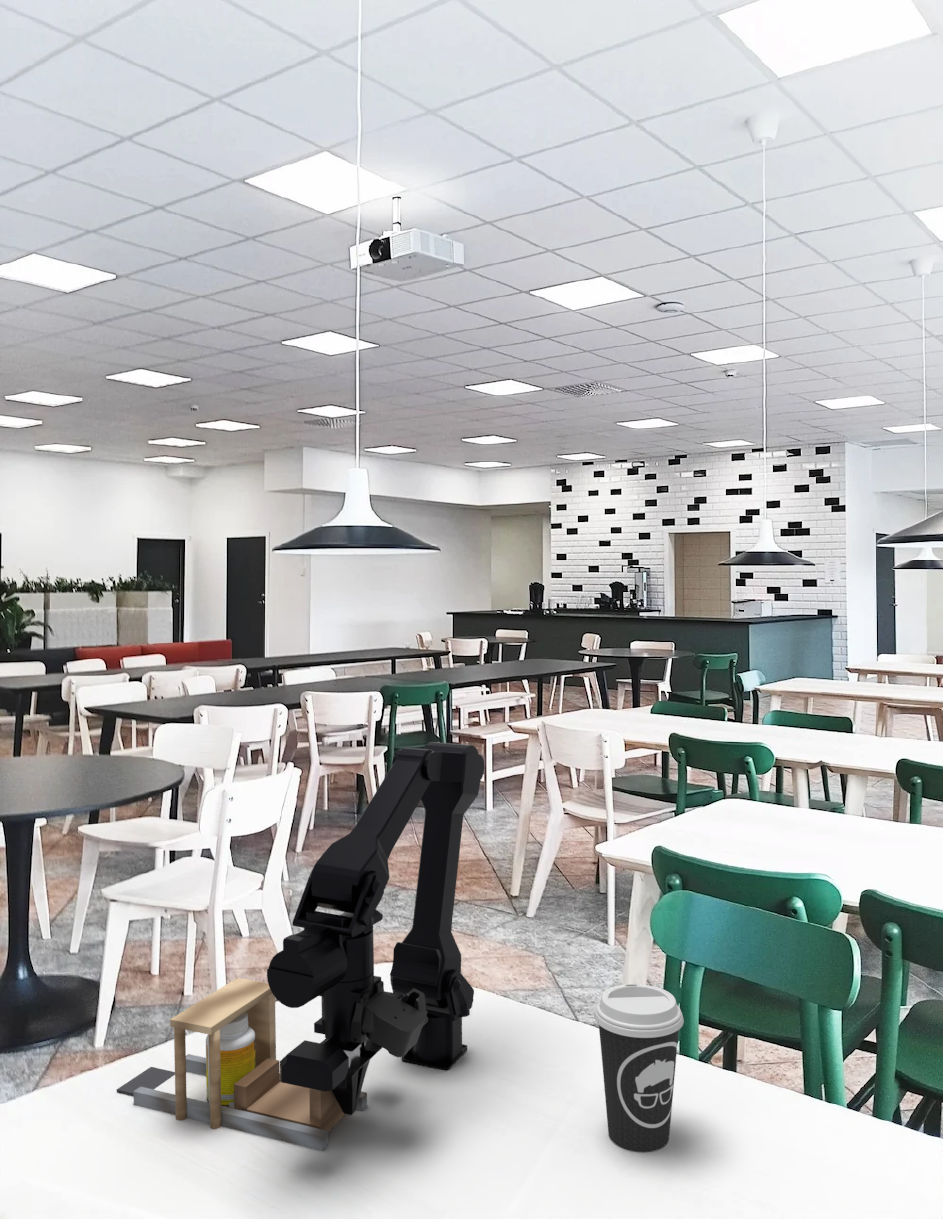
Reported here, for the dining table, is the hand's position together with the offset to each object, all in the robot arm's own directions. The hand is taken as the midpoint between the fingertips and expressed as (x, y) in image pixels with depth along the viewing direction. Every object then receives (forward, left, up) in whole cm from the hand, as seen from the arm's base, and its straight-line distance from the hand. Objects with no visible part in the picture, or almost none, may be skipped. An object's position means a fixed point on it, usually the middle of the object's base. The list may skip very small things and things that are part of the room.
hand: (349, 1112), depth 112 cm
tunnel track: (+13, 0, -2) cm, 13 cm away
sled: (+7, 0, -2) cm, 7 cm away
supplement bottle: (+16, 0, -2) cm, 16 cm away
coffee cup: (-29, -11, -2) cm, 32 cm away
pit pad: (+28, 0, -2) cm, 28 cm away
